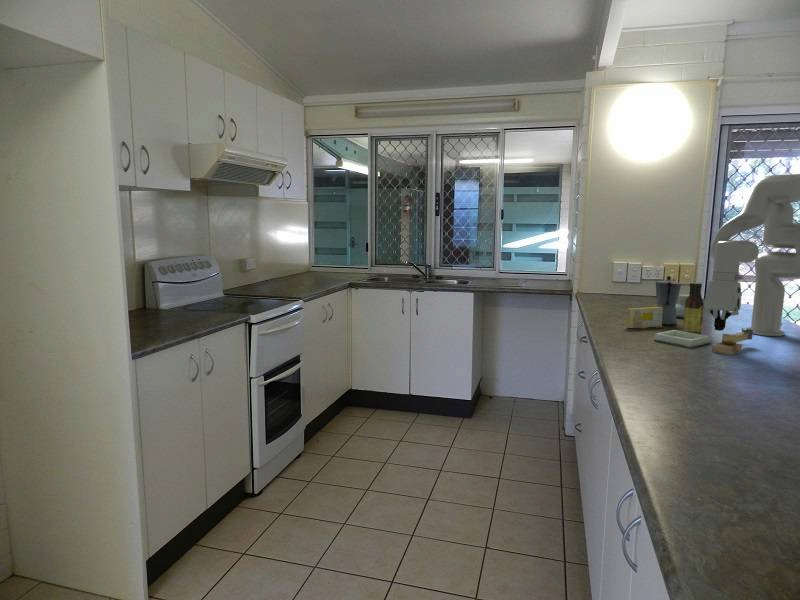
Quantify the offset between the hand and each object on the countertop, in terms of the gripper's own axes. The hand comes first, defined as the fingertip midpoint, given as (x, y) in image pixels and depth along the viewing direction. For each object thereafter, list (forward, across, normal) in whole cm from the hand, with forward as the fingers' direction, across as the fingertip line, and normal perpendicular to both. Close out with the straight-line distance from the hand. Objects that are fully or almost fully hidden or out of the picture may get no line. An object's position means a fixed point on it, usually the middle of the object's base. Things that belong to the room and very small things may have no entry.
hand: (719, 330), depth 187 cm
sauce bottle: (+6, +14, -10) cm, 18 cm away
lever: (+3, -6, -1) cm, 7 cm away
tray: (+6, +10, +5) cm, 12 cm away
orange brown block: (+6, -6, +7) cm, 11 cm away
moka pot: (+5, +32, -24) cm, 41 cm away
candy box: (+6, +32, -8) cm, 34 cm away
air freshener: (+5, +36, -47) cm, 60 cm away
